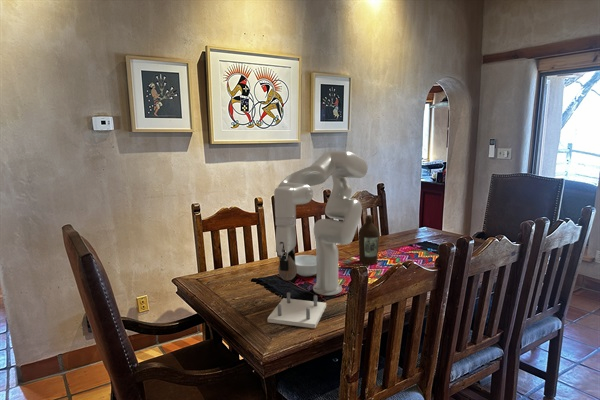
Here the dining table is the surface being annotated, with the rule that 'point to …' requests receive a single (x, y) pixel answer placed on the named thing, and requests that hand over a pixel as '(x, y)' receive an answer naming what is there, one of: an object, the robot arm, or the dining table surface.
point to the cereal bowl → (306, 265)
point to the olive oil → (368, 242)
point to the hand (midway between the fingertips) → (287, 266)
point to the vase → (291, 272)
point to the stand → (297, 312)
